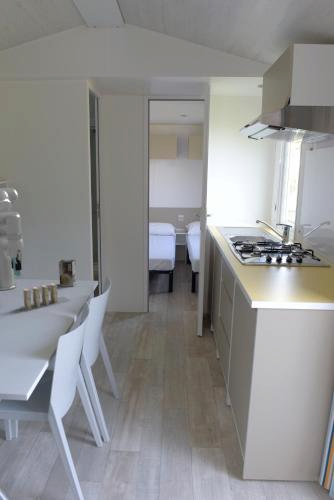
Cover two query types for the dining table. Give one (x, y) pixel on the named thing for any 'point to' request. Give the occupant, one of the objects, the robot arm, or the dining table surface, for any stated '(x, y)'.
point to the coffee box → (67, 272)
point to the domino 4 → (53, 293)
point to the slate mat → (60, 300)
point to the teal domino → (14, 268)
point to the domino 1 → (27, 299)
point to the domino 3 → (45, 295)
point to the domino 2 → (36, 297)
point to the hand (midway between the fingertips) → (16, 268)
